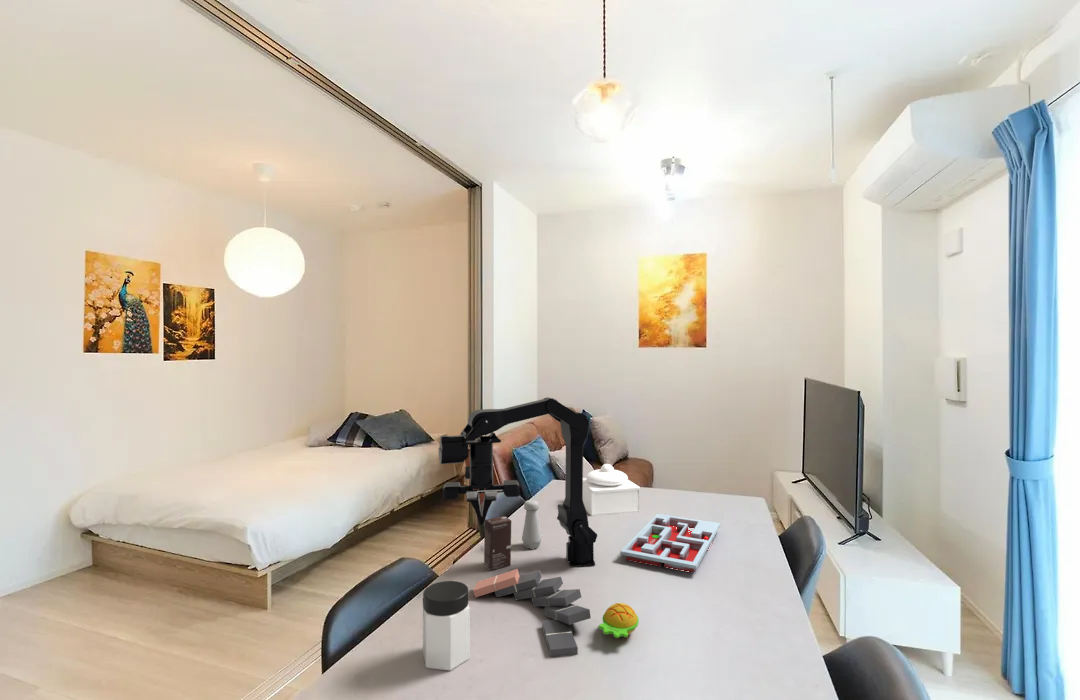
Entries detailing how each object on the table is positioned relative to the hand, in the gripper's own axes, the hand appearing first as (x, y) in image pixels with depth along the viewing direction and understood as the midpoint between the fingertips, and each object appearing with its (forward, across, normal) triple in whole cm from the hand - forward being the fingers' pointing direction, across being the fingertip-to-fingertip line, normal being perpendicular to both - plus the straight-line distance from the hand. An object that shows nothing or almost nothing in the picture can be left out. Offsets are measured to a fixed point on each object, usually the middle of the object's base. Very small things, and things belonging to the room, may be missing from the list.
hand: (481, 524), depth 122 cm
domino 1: (+12, +1, +9) cm, 15 cm away
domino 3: (+12, -9, +10) cm, 18 cm away
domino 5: (+12, -16, +19) cm, 27 cm away
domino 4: (+12, -13, +14) cm, 23 cm away
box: (+13, -4, -6) cm, 15 cm away
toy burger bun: (+13, -27, +29) cm, 42 cm away
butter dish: (+14, -44, -52) cm, 69 cm away
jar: (+13, +6, +32) cm, 35 cm away
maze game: (+14, -54, -14) cm, 58 cm away
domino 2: (+12, -4, +9) cm, 15 cm away
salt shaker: (+13, -14, -18) cm, 26 cm away
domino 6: (+13, -15, +24) cm, 31 cm away
